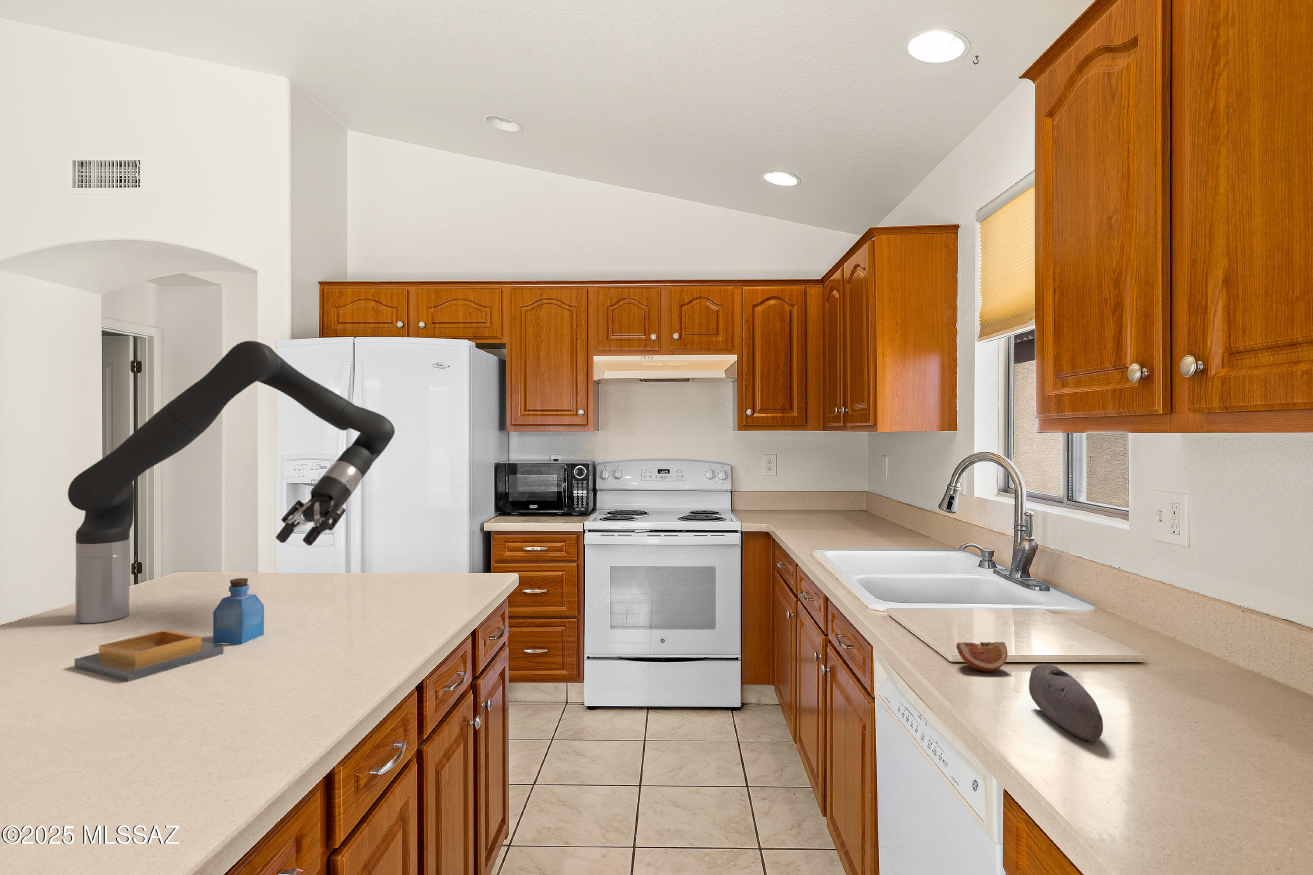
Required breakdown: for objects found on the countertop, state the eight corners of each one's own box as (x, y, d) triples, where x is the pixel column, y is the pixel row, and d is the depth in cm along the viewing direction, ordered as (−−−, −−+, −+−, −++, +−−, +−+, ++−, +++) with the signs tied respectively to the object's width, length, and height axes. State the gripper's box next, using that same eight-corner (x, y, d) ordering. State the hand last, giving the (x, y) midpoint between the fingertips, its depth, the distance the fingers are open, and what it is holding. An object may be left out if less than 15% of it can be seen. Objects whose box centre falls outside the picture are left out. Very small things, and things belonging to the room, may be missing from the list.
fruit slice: (964, 675, 118) (964, 646, 117) (949, 662, 124) (949, 635, 124) (1013, 676, 117) (1013, 647, 117) (995, 663, 124) (995, 635, 124)
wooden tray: (74, 667, 120) (74, 647, 120) (171, 642, 134) (171, 624, 134) (127, 681, 113) (127, 660, 113) (223, 653, 127) (223, 634, 127)
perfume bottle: (263, 635, 139) (263, 576, 139) (242, 644, 133) (242, 583, 133) (235, 634, 140) (235, 576, 140) (213, 643, 133) (213, 582, 133)
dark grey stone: (1118, 752, 89) (1118, 700, 89) (1076, 750, 90) (1076, 698, 90) (1061, 706, 104) (1061, 661, 104) (1025, 705, 105) (1025, 660, 105)
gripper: (305, 473, 158) (259, 529, 147) (349, 475, 152) (304, 533, 142) (325, 494, 163) (281, 550, 152) (368, 496, 157) (326, 554, 146)
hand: (292, 541), depth 147 cm, fingers open, 8 cm apart
